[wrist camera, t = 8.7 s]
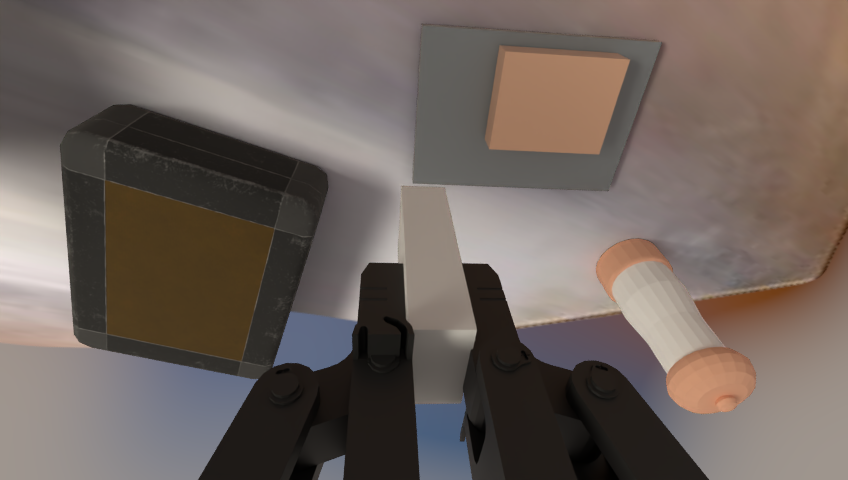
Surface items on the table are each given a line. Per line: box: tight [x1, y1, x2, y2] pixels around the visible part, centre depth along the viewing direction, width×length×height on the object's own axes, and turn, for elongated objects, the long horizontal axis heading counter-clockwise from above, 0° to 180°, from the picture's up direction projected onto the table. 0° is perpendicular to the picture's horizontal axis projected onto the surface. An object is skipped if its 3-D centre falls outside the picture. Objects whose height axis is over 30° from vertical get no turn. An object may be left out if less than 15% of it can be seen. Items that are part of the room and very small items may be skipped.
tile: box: [485, 45, 630, 154], centre depth 36 cm, size 3×8×10 cm
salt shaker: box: [596, 239, 756, 414], centre depth 42 cm, size 7×7×19 cm
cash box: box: [60, 105, 328, 379], centre depth 43 cm, size 25×20×8 cm
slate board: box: [412, 24, 662, 191], centre depth 39 cm, size 20×14×1 cm
